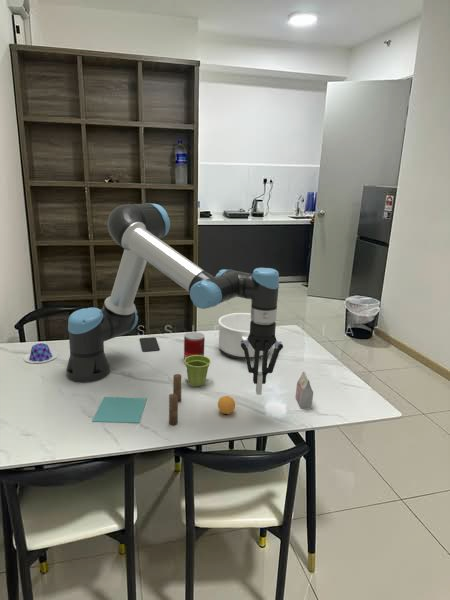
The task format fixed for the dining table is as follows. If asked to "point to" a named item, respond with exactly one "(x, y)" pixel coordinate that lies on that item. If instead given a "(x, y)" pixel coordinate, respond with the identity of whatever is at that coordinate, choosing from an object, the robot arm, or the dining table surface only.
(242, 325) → the pot
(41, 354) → the pudding
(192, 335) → the canned food
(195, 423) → the dining table surface
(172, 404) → the post near
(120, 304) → the robot arm
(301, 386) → the white red carton
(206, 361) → the plant pot
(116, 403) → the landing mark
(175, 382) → the post far
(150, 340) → the phone
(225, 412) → the ball
